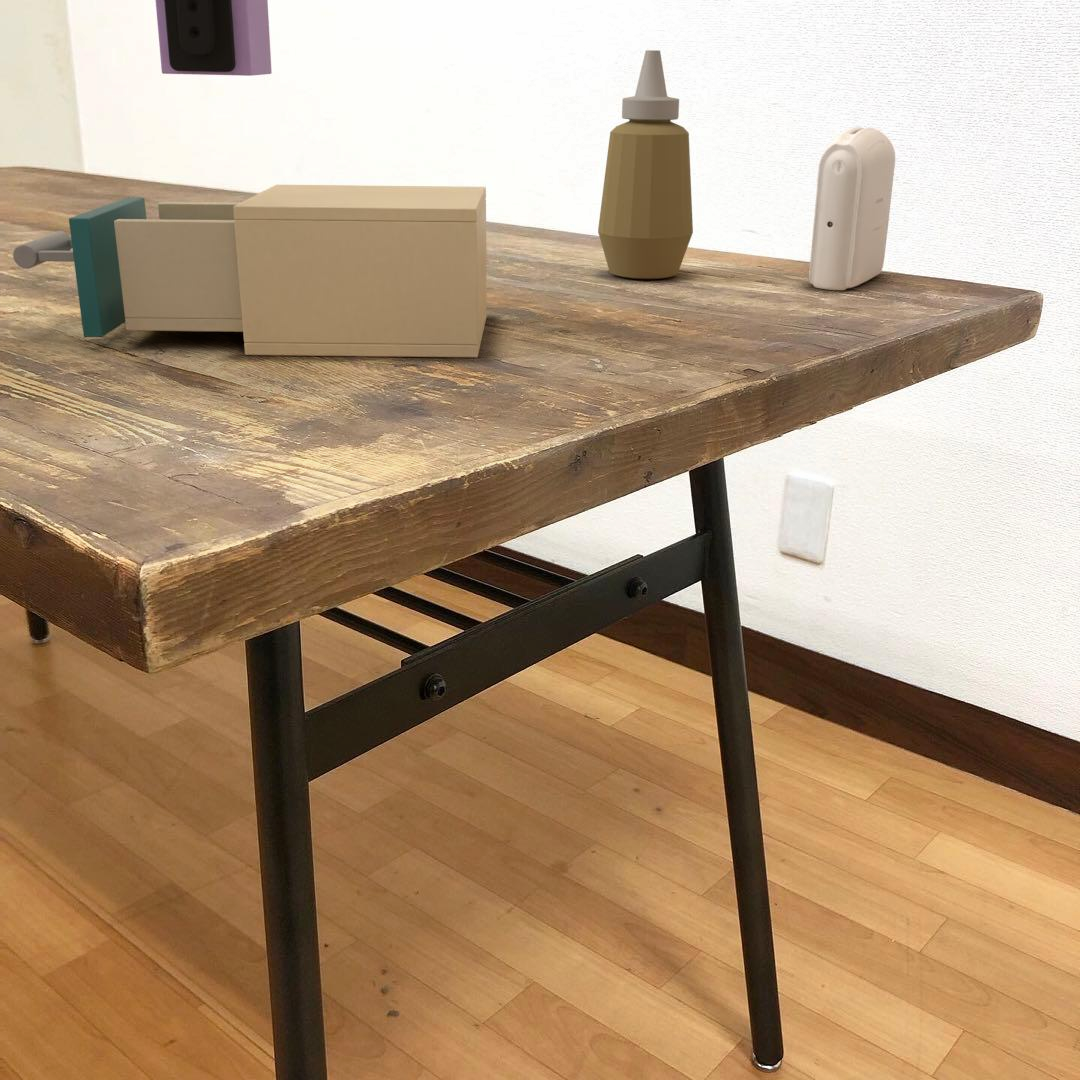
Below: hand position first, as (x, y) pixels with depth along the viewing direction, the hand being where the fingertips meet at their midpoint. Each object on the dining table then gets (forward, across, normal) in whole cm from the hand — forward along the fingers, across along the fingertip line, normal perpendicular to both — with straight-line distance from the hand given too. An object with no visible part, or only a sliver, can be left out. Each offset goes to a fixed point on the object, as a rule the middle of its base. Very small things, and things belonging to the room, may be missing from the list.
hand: (217, 66), depth 65 cm
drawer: (+16, -13, -7) cm, 22 cm away
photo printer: (+17, -37, +42) cm, 59 cm away
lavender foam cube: (0, 0, 0) cm, 0 cm away
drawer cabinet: (+17, -13, +6) cm, 22 cm away
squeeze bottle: (+17, -38, +25) cm, 49 cm away
